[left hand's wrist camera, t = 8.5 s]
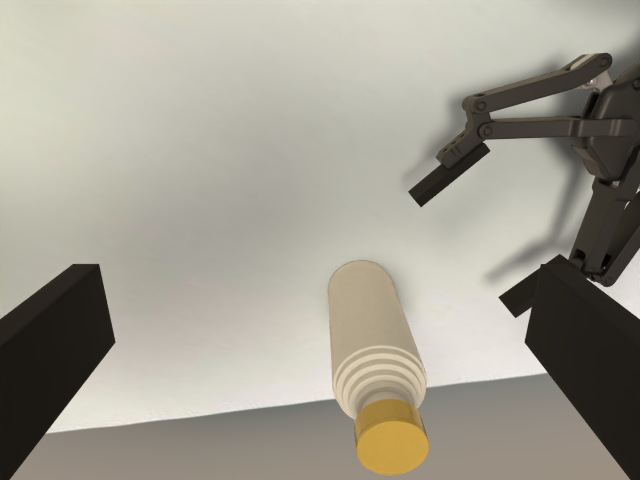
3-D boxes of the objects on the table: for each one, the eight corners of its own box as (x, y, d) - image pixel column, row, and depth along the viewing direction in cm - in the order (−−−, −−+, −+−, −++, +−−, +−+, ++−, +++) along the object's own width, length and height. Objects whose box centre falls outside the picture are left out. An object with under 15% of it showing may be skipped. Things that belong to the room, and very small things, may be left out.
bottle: (393, 258, 43) (451, 396, 24) (392, 316, 45) (444, 481, 27) (326, 262, 43) (333, 402, 24) (329, 319, 45) (337, 486, 27)
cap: (423, 397, 26) (430, 419, 24) (420, 449, 28) (427, 474, 26) (353, 400, 26) (355, 423, 24) (354, 452, 28) (357, 477, 26)
